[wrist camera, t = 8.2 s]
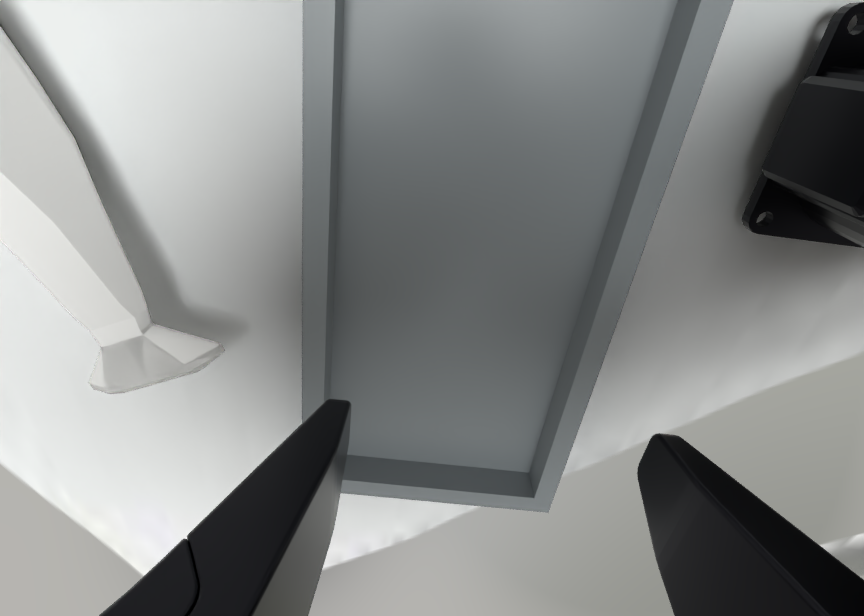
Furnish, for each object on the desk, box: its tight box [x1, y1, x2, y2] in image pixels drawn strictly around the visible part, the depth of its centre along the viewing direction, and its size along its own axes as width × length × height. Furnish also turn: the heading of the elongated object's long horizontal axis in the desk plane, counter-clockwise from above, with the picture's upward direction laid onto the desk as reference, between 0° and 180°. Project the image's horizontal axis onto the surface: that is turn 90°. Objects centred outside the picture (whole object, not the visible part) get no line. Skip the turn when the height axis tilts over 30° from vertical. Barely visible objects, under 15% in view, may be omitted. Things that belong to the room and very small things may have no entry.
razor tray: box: [302, 0, 734, 512], centre depth 17 cm, size 11×23×2 cm, turn 173°
